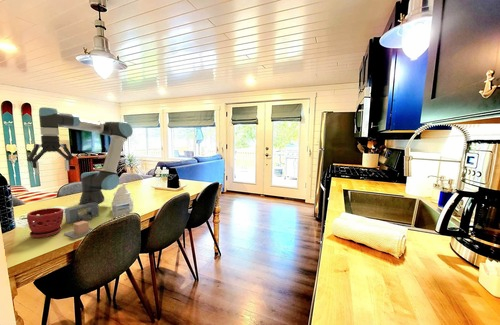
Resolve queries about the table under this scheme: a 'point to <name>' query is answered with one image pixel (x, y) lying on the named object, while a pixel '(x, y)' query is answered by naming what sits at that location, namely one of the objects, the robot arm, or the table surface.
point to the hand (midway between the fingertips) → (53, 172)
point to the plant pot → (45, 222)
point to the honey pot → (122, 197)
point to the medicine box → (121, 209)
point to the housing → (72, 212)
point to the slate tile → (75, 236)
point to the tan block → (81, 227)
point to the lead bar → (84, 216)
